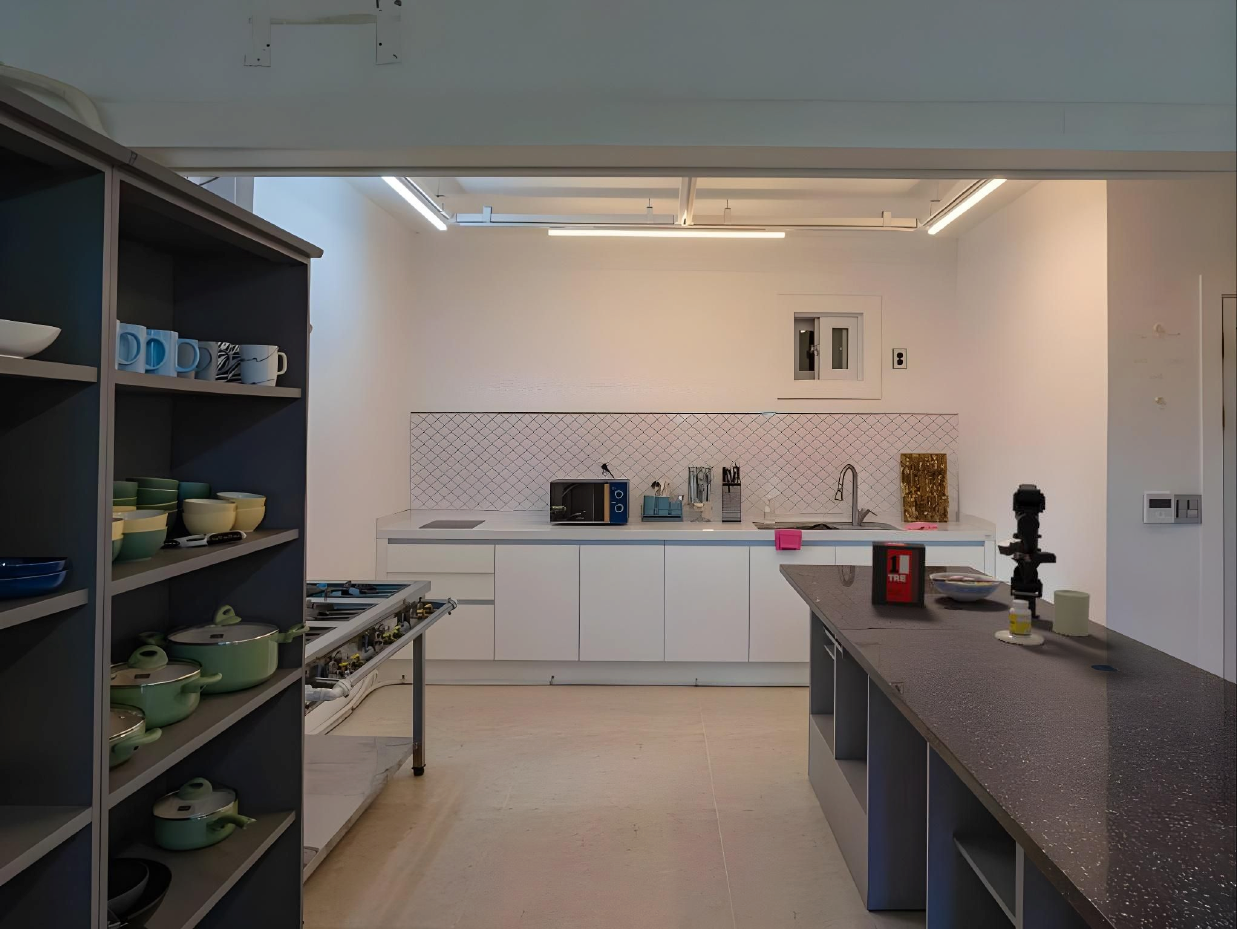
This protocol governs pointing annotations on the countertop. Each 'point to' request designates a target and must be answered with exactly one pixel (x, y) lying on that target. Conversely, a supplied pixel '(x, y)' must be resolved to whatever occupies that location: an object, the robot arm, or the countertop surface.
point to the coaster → (1007, 637)
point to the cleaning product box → (898, 574)
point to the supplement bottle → (1020, 619)
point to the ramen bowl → (965, 585)
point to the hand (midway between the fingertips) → (1026, 582)
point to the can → (1071, 613)
